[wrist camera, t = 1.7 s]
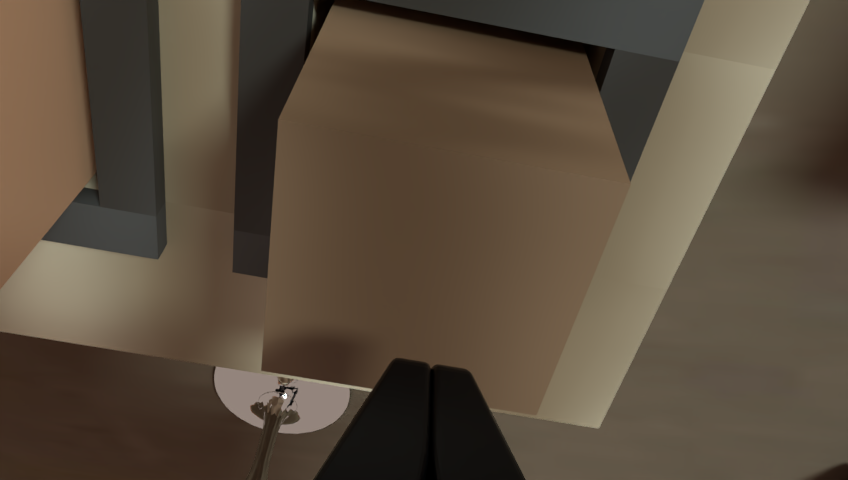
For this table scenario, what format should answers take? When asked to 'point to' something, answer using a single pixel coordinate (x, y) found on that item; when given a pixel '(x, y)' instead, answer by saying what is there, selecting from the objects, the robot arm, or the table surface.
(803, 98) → the table surface
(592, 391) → the board
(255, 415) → the wineglass
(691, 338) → the table surface
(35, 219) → the peg
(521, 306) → the peg
